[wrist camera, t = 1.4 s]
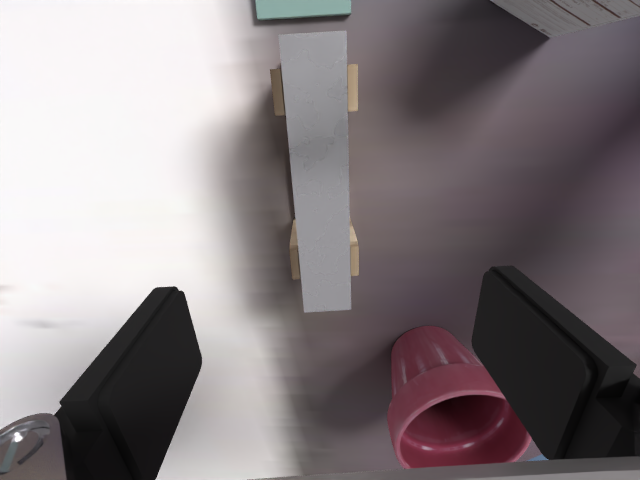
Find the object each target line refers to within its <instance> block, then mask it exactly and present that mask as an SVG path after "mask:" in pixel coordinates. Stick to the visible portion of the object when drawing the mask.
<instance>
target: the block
mask: <svg viewBox="0 0 640 480" xmlns="http://www.w3.org/2000/svg"><path fill="white" fill-rule="evenodd" d="M278 36H279V46H280V57H281V68H282V79H283V89H284V100H285V111H286V122H287V132H288V143H289V154H290V165H291V175H292V186H293V197H294V208H295V219H296V229H297V240H298V251H299V262H300V272H301V283H302V294H303V305H304V312H320V311H337V310H351V270H350V212H349V153H348V95H347V37H346V31H332V32H315V33H299V34H283V35H278Z"/></svg>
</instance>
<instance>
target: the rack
mask: <svg viewBox="0 0 640 480" xmlns="http://www.w3.org/2000/svg"><path fill="white" fill-rule="evenodd" d="M270 74H271V83H272V93H273V102H274V112H275V116H281V115H286V111H285V100H284V89H283V79H282V70H281V69H270ZM347 95H348V111H358V64H353V65H347ZM289 246H290V249H289V253H290V262H291V272H292V280H293V279H300V274H301V272H300V262H299V251H298V240H297V229H296V219H294V220H293V226H292V232H291V239H290V245H289ZM350 270H351V276H359V247H358V241H357V238H356V235H355V232H354V229H353V226H352V223H351V220H350Z"/></svg>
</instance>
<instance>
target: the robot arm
mask: <svg viewBox="0 0 640 480" xmlns="http://www.w3.org/2000/svg"><path fill="white" fill-rule="evenodd" d="M472 346H473V349H474V351H475V353H476V355H477V356H478V358H479V359H480V361H481V362H482V364H483V365H484V367H485V368H486V370H487V371H488V373H489V374H490V376H491V377H492V379H493V380H494V382H495V383H496V385H497V386H498V388H499V389H500V391H501V392H502V394H503V395H504V397H505V398H506V400H507V401H508V403H509V404H510V406H511V407H512V409H513V411H514V412H515V414H516V415H517V417H518V418H519V420H520V421H521V423H522V424H523V426H524V427H525V429H526V430H527V432H528V433H529V435H530V436H531V438H532V439H533V441H534V442H535V444H536V445H537V447H538V448H539V450H540V451H541V453H542V454H543V455H544V456H545V457H546V458H547V459H549V460H542V461H525V462H508V463H492V464H475V465H458V466H442V467H426V468H411V469H395V470H380V471H365V472H350V473H335V474H320V475H305V476H290V477H277V478H263V479H249V480H640V379H639V378H638V377H637V376H636V375H634V374H633V372H634V370H635V368H636V364H635V363H634V362H632V361H631V360H630V359H629V358H627V357H626V356H625V355H624V354H622V353H621V352H620V351H619V350H617V349H616V348H615V347H614V346H612V345H611V344H610V343H609V342H607V341H606V340H605V339H604V338H602V337H601V336H600V335H599V334H597V333H596V332H595V331H594V330H592V329H591V328H590V327H589V326H588V325H586V324H585V323H584V322H583V321H581V320H580V319H579V318H578V317H576V316H575V315H574V314H573V313H571V312H570V311H569V310H568V309H566V308H565V307H564V306H563V305H561V304H560V303H559V302H558V301H556V300H555V299H554V298H553V297H551V296H550V295H549V294H548V293H546V292H545V291H544V290H543V289H541V288H540V287H539V286H538V285H536V284H535V283H534V282H533V281H532V280H530V279H529V278H528V277H527V276H525V275H524V274H523V273H522V272H520V271H519V270H518V269H517V268H515V267H514V266H497V267H491V268H490V270H489V272H486V273H485V274H484V276H483V281H482V287H481V292H480V298H479V303H478V308H477V314H476V319H475V325H474V330H473V335H472ZM201 365H202V357H201V353H200V349H199V345H198V342H197V338H196V334H195V331H194V327H193V323H192V320H191V316H190V312H189V309H188V305H187V301H186V298H185V294H184V292H183V291H179V290H178V288H177V287H175V286H173V287H157V288H155V289H153V290H152V292H151V293H150V294H149V295H148V296H147V298H146V299H145V300H144V301H143V302H142V304H141V305H140V306H139V307H138V308H137V310H136V311H135V312H134V313H133V314H132V316H131V317H130V318H129V319H128V320H127V322H126V323H125V324H124V325H123V326H122V328H121V329H120V330H119V331H118V332H117V334H116V335H115V336H114V337H113V338H112V340H111V341H110V342H109V343H108V344H107V345H106V347H105V348H104V349H103V350H102V351H101V353H100V354H99V355H98V356H97V357H96V359H95V360H94V361H93V362H92V363H91V365H90V366H89V367H88V368H87V369H86V371H85V372H84V373H83V374H82V375H81V377H80V378H79V379H78V380H77V381H76V383H75V384H74V385H73V386H72V387H71V389H70V390H69V391H68V392H67V393H66V395H65V396H64V397H63V398H62V399H61V401H60V404H61V408H60V409H59V410H58V411H57V412H56V414H55V415H52V414H48V413H40V414H35V415H31V416H27V417H25V418H22V419H20V420H18V421H15V422H13V423H11V424H10V425H8V426H6V427H4V428H3V429H1V430H0V480H155V479H156V477H157V475H158V472H159V470H160V467H161V465H162V462H163V460H164V457H165V455H166V453H167V450H168V448H169V445H170V443H171V440H172V438H173V435H174V433H175V430H176V428H177V426H178V423H179V421H180V418H181V416H182V413H183V411H184V408H185V406H186V404H187V401H188V399H189V396H190V394H191V391H192V389H193V386H194V384H195V382H196V379H197V377H198V374H199V372H200V369H201Z"/></svg>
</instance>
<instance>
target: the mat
mask: <svg viewBox="0 0 640 480" xmlns="http://www.w3.org/2000/svg"><path fill="white" fill-rule="evenodd" d="M255 2H256V10H257V19H258V20H273V19H290V18H306V17H323V16H339V15H350V14H351V0H255Z"/></svg>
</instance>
